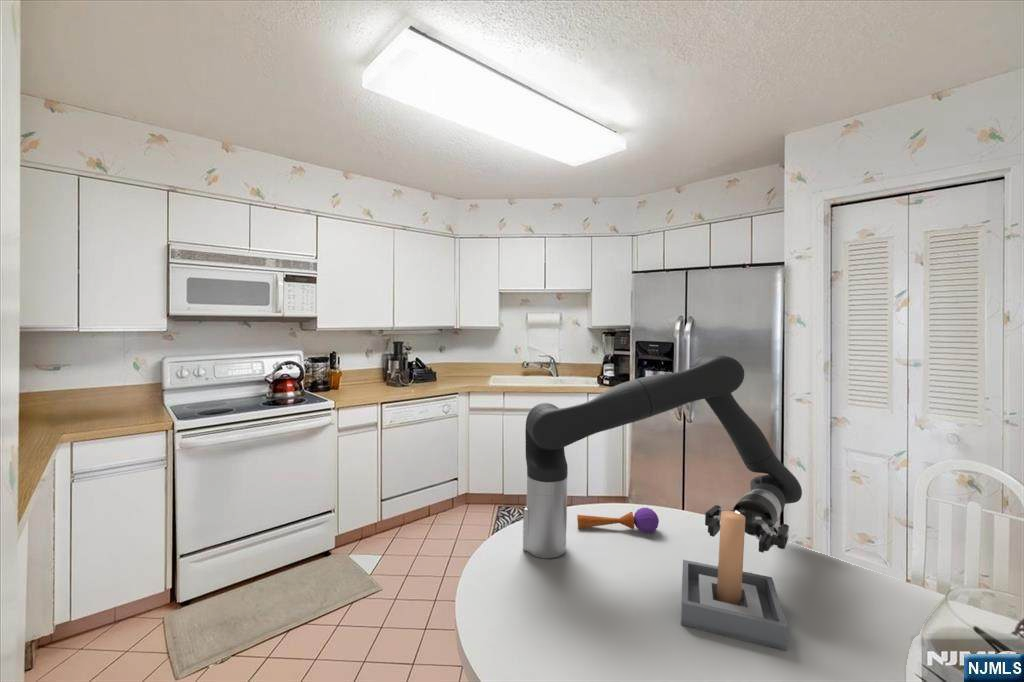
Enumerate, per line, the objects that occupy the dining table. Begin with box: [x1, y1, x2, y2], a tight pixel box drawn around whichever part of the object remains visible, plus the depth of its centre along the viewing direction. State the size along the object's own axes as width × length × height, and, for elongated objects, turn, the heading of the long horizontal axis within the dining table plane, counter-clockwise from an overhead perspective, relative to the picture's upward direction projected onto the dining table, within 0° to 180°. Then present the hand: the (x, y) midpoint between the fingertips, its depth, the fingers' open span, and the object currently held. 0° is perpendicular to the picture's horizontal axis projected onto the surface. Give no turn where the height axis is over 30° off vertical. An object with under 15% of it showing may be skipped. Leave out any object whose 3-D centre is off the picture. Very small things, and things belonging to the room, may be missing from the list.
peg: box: [716, 510, 746, 606], centre depth 82 cm, size 4×4×17 cm
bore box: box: [680, 559, 789, 652], centre depth 83 cm, size 16×15×4 cm
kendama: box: [576, 507, 660, 534], centre depth 113 cm, size 6×6×20 cm
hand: (735, 539), depth 84 cm, fingers open, 8 cm apart
